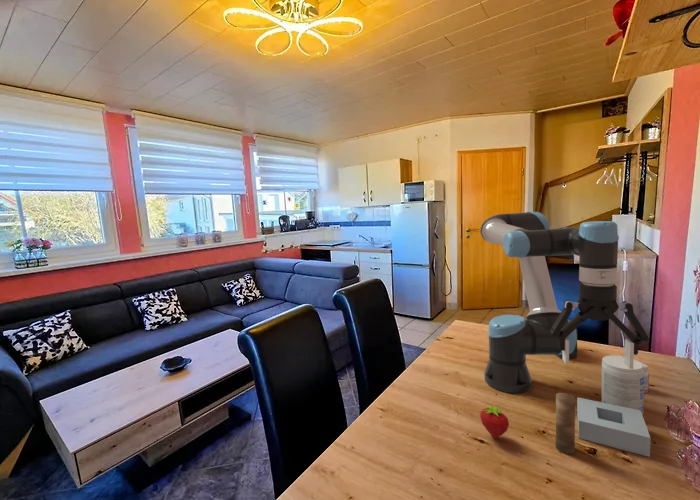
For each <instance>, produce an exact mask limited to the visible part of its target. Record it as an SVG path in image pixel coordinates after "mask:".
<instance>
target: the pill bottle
mask: <svg viewBox="0 0 700 500" xmlns="http://www.w3.org/2000/svg"><path fill="white" fill-rule="evenodd" d="M640 363H641V364H642V365H643V369H644V394H645V393H648V392H649V384H650V372H649V367H648V365H647V364H646V363H643V362H640Z"/></svg>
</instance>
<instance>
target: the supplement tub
mask: <svg viewBox="0 0 700 500" xmlns="http://www.w3.org/2000/svg"><path fill="white" fill-rule="evenodd" d="M601 361H602V362H601V402H602V403H607V404H612V405H617V406H621V407H626V408H631V409H636V410H640V411H641V413H642V415H644V406H645V405H644V403H645V402H644V401H645V400H644V397H645V393H644V369H643V365H642V364H641V363H642V362H641V361H638V360H636V359H634V362H633V369H629V368H628V367H627V366H626V365H625V364H624V356H621V355H605V356H603V357H602V360H601Z"/></svg>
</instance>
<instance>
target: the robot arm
mask: <svg viewBox="0 0 700 500" xmlns="http://www.w3.org/2000/svg"><path fill="white" fill-rule="evenodd" d="M618 230H619V229H618V224H617V222H615V221H610V220H596V221H595V220H594V221H593V220H591V221H583V222H582V223H580V225H579V227H578V226H565V227H562V228H550V224H549V221H548V219H547V217H546V216H545V215H544V214H543V213H541V212H540V211H526V212H514V213H513V212H512V213H499V214H495V215H492V216H490V217H488V218H486V219H485V220H484V221H483V223H482V224H481V226H480V236H481V238H482V239H483V240H484V241H485V242H487V243H489V244H492V245H493V244H494V245H499V246H501V247H502V248H503V251H504V253H505V255H506V256H507V257H508V258H518V260H519V266H520V270H521V275H522V281H523V285H524V289H525V294H526V299H527V304H528V309H529V311H528V313H527V314H526V316H525V317H526V319H525V317H524V316H521V315H517V314H503V315H498V316H495V317H492V319H490V321H489V323H488V332H487V335H488V354H489V356H488V357H489V359H488V362H487V363H486V364H487V365H486V367H485V369H484V374H483V375H484V381H485V383H486V382H487V383H488V384H489V385H488V384H487V383H486V384H487V385H488V386H490V387H491V386H492V387H491V388H493V387H494V388H493V389H495V388H496V389H495V390H497V389H498V390H497V391H500V390H501V392H505V393H509V394H510V393H511V394H521V393H522V394H523V393H526V392H528V391H530V390H531V389H532V387H533V382H532V381H533V379H532V377H531V373H530V370H529V368H528V365H527V363H526V362H527V359H526V357H527V356H556V357H557V355H562V359H561V360H562V361H563V362H564V364H565V365H569V364H570V358H569V354H570V353H572V352H573V350H574V349H575V346H576V342H577V343H578V331H577V332H576V329H578V327H579V326H580V325H582V324H583V323H584V322H586V321H588V320H591V321H598V320H599V321H605V322H606V321H607V320H610V321H611V322H612V323H613V324H614V325H615V326H616V327H617V328H618V329H619V330H620V331H621V332H622V333H623V334H624V335H626V337H627V339H626V338H625V339H624V356H623V357H624V364H625V365H626V366H627V367H628V368H629V369H633V362H634V360H635V359H634V358H635V356H637V355H638V354H639V345H641V343H642V342H643V341H644V342H648V341H649V339H650V338H649V336H648V334H647V332H645V330H644V328H643V326H642V325H641V322H640V320H639V319H638V318H637V316H636V314H635V313H634V312H635V311H634V307H633V304H632V303H630V302H628V301H627V300H624V301H622V302H617V299H618V297H617V295H618V294H617V293H618V286H617V285H616V283H618V257H619V256H618V255H619V254H618V253H619V252H618V251H619V232H618ZM552 256H578V257H579V258H578V259H579V263H578V266H579V270H578V280H579V282H580V283H579V284H578V301H576V302H575V301H570V300H567V299H566V300H564V303H563V309H562V310H560V309H558V306H557V302H556V297H555V293H554V289H553V285H552V280H551V276H550V272H549V269H548V264H547V261H546V257H552ZM576 308H578V309H579V311H578V312H577V313H576V314H575V316H574V317H573V318H572V319H569V318H570V316H571V314H572V312H573V311H575V310H576ZM619 309H620V311H621V312H623V313H624V316H625V317H626V318H627V320H628V321H629V323H630V325H631V328H632V329H633V330H634V332H635V334H634V333H633V332H632V331H631V330H630V329H629V328H628V327H627V326H626V325H625V324H624V323H623V322H622V321H621V320H620V319H619V318H618V317H617V316H616V315H615V313H616V312H617V311H618V310H619Z"/></svg>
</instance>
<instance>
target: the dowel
mask: <svg viewBox="0 0 700 500" xmlns="http://www.w3.org/2000/svg"><path fill="white" fill-rule="evenodd" d="M575 435H576V398H575V396H574V395H572V394H570V393H567V392H557V393H556V394H555V448H556V449H557V451H559V452H560V453H562V454H564V455H568V456H569V455H573V454H575V451H576V447H575V446H576V444H575V443H576V436H575Z"/></svg>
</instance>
